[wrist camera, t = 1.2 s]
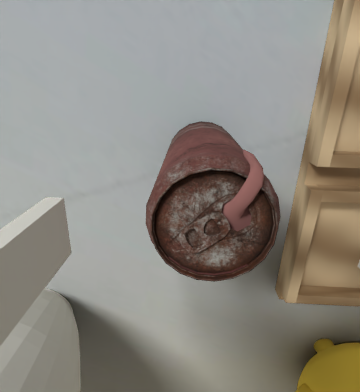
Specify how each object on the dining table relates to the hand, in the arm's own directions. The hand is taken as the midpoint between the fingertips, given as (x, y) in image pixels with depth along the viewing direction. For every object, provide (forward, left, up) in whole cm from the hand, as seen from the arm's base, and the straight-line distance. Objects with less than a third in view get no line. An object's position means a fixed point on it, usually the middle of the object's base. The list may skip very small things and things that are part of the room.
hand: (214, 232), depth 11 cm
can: (0, 0, -14) cm, 14 cm away
